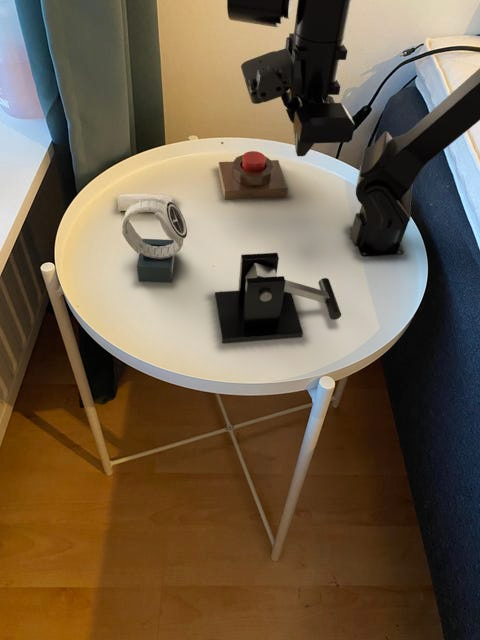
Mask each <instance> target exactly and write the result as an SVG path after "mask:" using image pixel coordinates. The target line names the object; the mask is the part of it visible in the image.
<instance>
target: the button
mask: <svg viewBox="0 0 480 640" xmlns="http://www.w3.org/2000/svg"><path fill="white" fill-rule="evenodd" d="M242 155H243V158H242V168H243V169H244V170H245V171H248V172H251V173H258V172H261V171H263V170H264V168H265V159H266V158H265V157H266V155H265V154H264V153H263V152H260V151H255V150H251V151H247V152H244V154H242Z"/></svg>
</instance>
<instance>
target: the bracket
mask: <svg viewBox="0 0 480 640" xmlns="http://www.w3.org/2000/svg"><path fill="white" fill-rule="evenodd" d="M279 259H280V256H279V253H278V252H267V253H266V252H264V253H247V254H241V255H240V264H239V276H238V277H239V278H238V290H229V291H227V290H226V291H215V292H214V302H215V308H216V314H217V320H218V328H219V333H220V339H221V344H231V343H232V344H233V343H235V344H236V343H247V342H258V341H269V340H270V341H271V340H272V341H273V340H284V339H297V338H303V335H304V331H303V328H302V324H301V321H300V317H299V314H298V311H297V307H296V303H295V300H294V297H293V294H291V293H288V292H284V288H285V280H286V278H285V276H284V275H279V276H278V275H277V274H278V266H279ZM254 263H257V264H261V265H264V266H267V267H271V268H274V269H275V271H276V275H277V277H262V278H247V279H246V277H245V276H246V275H247V273H248V272H249V271H250V269H251V268H252V266H253V265H254Z"/></svg>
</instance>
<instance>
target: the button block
mask: <svg viewBox="0 0 480 640" xmlns="http://www.w3.org/2000/svg"><path fill="white" fill-rule="evenodd" d="M243 155H244V154H241V155H239V156H236V157H235V159H234V160H233V161H218V174H219V180H220V184H221V190H222V194H223V199H224V200H246V199H267V198H270V199H271V198H287V197H288V192H289V191H288V190H289V188H288V184H287V182H286V179H285V175H284V173H283V169H282V167H281V164H280V160H278V159H270V158H268V157H267V156H265V158H266V159H265V168H264V170H263V171H261V172H258V173H251V172H248V171H245V170H244V169H243V168H242V158H243Z"/></svg>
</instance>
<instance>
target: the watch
mask: <svg viewBox="0 0 480 640" xmlns="http://www.w3.org/2000/svg"><path fill="white" fill-rule="evenodd" d="M150 211H151V212H150ZM140 213H154V216H155V218H156V219H157V220H158V221H159V223H160V226H161V228H162V230H163V232H164V233H165V235H166V236H167V238H168V239H161V238H142V237H141V236H140V234H138V232H137V231H136V229H135V228H134V227H133V224H132V222H130V218H131V217H133V216H134V215H137V214H140ZM121 229H122V230H121V234H122V235H123V238H124V239H125V241H126V242H127V244H128V245H129V247H131V248H132V250H133V251H134V252H136V253H137V254H138V260H137V264H136V269H137V271H136V272H137V278H138V282H142V283H143V282H144V283H145V282H147V283H165V284H166V283H169V284H172V281H173V276H174V275H173V274H174V267H175V266H174V265H175V257H176V254H177V253H179V252H180V251H181V249H182V247H183V246H184V240H185V239H186V238H187V236H188V227H187V223H186V220H185V217H184V215H183V212H182V211H181V210H180V208H179V207H178V206H177V205H176V203H174V202H173V201H172V202H171V201H169V202H166V201H165V200H162V199H152V198H147V199H141V200H138V201H136V202H134V203H133V204H132V205H130V206H129V207H128V209H127V210H126V211H124V217H123V221H122V228H121Z"/></svg>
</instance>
